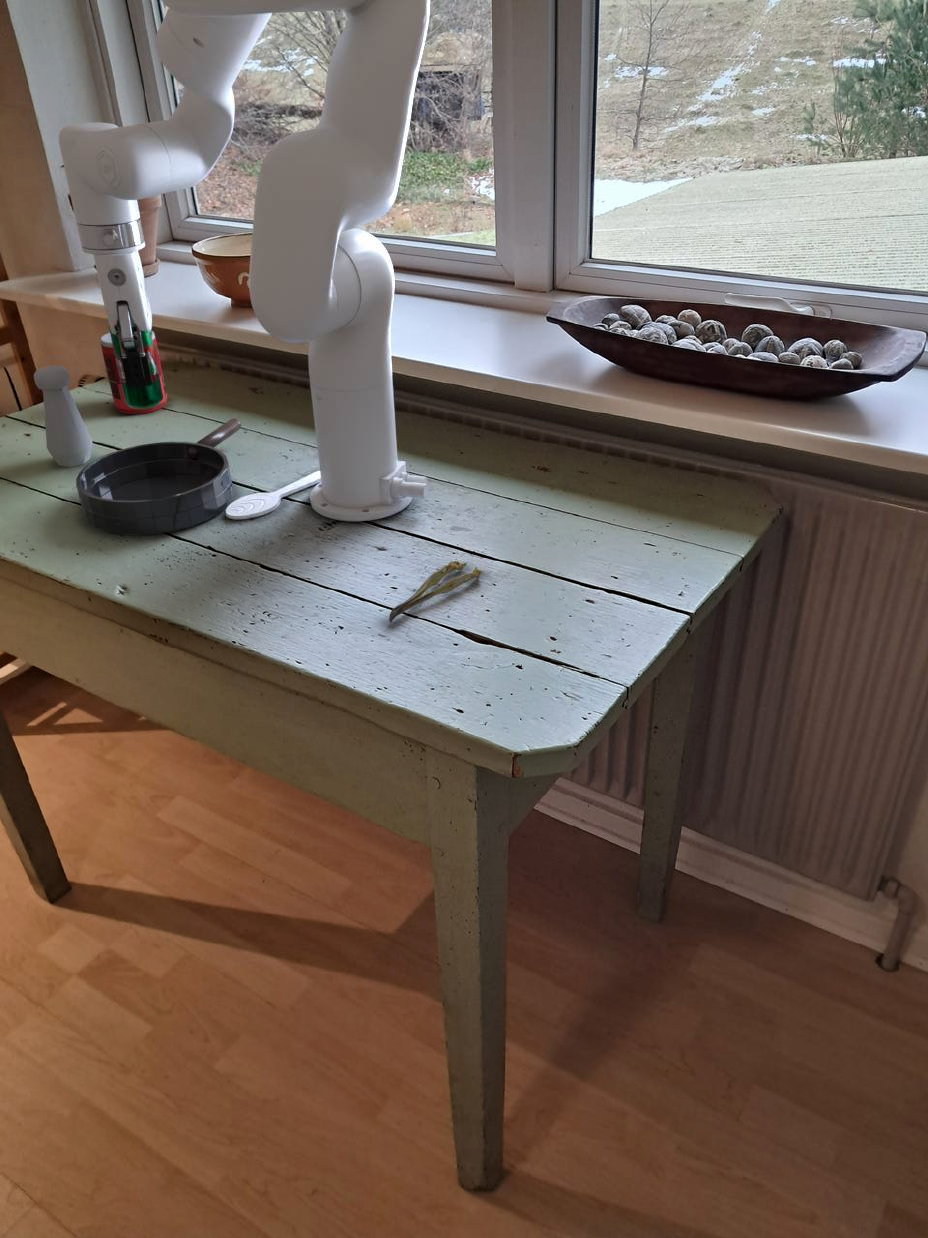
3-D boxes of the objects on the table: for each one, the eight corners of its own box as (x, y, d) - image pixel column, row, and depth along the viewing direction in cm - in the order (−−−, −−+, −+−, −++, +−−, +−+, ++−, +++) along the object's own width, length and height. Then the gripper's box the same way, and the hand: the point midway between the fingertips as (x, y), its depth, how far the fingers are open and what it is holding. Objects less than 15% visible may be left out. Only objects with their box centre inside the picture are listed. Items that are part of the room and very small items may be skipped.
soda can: (125, 399, 132) (106, 310, 125) (163, 395, 133) (146, 307, 127) (125, 412, 128) (106, 321, 121) (165, 407, 129) (147, 317, 123)
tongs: (380, 619, 96) (379, 602, 95) (455, 570, 106) (455, 554, 104) (413, 632, 94) (413, 614, 93) (487, 581, 103) (487, 564, 102)
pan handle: (244, 429, 134) (242, 417, 133) (197, 462, 125) (195, 449, 124) (232, 428, 135) (230, 415, 134) (186, 460, 126) (183, 447, 125)
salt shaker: (103, 453, 134) (80, 361, 127) (85, 469, 130) (61, 375, 123) (63, 452, 135) (38, 360, 128) (44, 469, 130) (17, 375, 123)
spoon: (352, 474, 126) (352, 470, 126) (243, 524, 115) (242, 520, 114) (325, 464, 129) (324, 460, 129) (215, 511, 118) (214, 507, 117)
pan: (259, 482, 125) (254, 450, 122) (181, 546, 111) (174, 510, 108) (142, 466, 130) (135, 435, 128) (53, 525, 116) (43, 491, 113)
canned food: (178, 402, 151) (165, 331, 145) (139, 418, 145) (123, 346, 139) (144, 394, 154) (130, 325, 148) (105, 409, 149) (88, 338, 143)
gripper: (142, 248, 113) (169, 397, 123) (144, 220, 127) (169, 356, 136) (74, 252, 111) (108, 403, 121) (84, 224, 125) (113, 361, 135)
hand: (140, 377), depth 129 cm, fingers closed on soda can, 5 cm apart
